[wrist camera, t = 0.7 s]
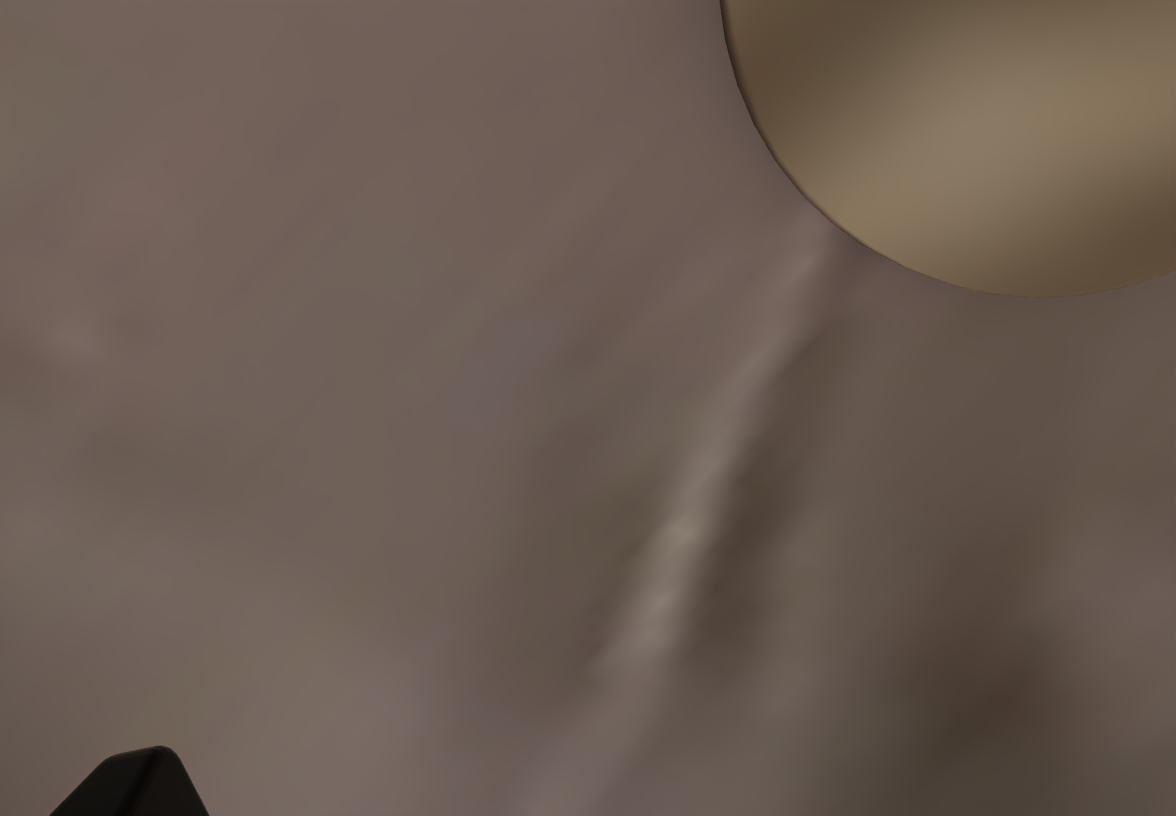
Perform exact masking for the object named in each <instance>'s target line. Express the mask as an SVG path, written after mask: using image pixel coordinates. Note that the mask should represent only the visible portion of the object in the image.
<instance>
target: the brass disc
mask: <svg viewBox="0 0 1176 816" xmlns="http://www.w3.org/2000/svg"><path fill="white" fill-rule="evenodd" d="M720 7H721V14H722V21H723V28H724V35H725V42H726V45H727V49H728V53H729V56H730V60H731V63H732V67H733V71H734V74H735V78H736V82H737V85H738V87H739V90H740V92H741V95H742V97H743V99H744V102H745V104H746V106H747V109H748V111H749V114H750V116H751V118H752V121H753V123H754V125H755V127H756V129H757V130H758V132H759V134H760V135H761V137H762V139H763V140H764V142H765V144H766V146H767V147H768V149H769V151H770V152H771V154H772V156H773V158H774V159H775V161H776V162H777V163H778V165H779V166H780V167H781V169H782V170H783V171H784V172H785V174H786V175H787V176H788V177H789V179H790V180H791V181H792V183H793V184H794V185H795V186H796V188H797V189H798V190H799V191H800V193H801V194H802V195H803V196H804V197H805V198H806V199H807V200H808V201H809V202H810V203H811V204H813V205H814V206H815V207H816V208H817V209H818V210H819V211H820V212H821V213H822V214H823V215H824V216H825V217H826V218H827V219H828V220H829V221H830V222H832V223H833V224H834V225H836V226H837V227H838V228H840V229H841V230H843V231H844V232H845V233H847V234H848V235H849V236H851V237H852V238H854V239H855V240H856V241H858V242H859V243H860V244H862V245H864V246H865V247H867V248H869V249H871V250H873V251H875V252H877V253H879V254H880V255H882V256H884V257H886V258H888V259H890V260H892V261H894V262H895V263H897V264H900V265H902V266H905V267H907V268H910V269H912V270H914V271H917V272H920V273H922V274H925V275H928V276H931V277H933V278H936V279H939V280H942V281H944V282H947V283H950V284H953V285H955V286H959V287H964V288H969V289H973V290H978V291H983V292H987V293H992V294H996V295H1009V296H1022V297H1035V298H1044V297H1062V296H1079V295H1086V294H1091V293H1097V292H1102V291H1107V290H1113V289H1118V288H1123V287H1126V286H1130V285H1133V284H1136V283H1139V282H1142V281H1145V280H1148V279H1152V278H1155V277H1158V276H1161V275H1164V274H1167V273H1169V272H1171V271H1173V270H1175V269H1176V0H720Z"/></svg>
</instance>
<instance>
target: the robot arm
mask: <svg viewBox="0 0 1176 816" xmlns="http://www.w3.org/2000/svg"><path fill="white" fill-rule="evenodd" d="M49 816H209V814H208V812H207V810H206V808H205V806H204V804H203V802H202V800H201V798H200V796H199V795H198V793H197V791H196V789H195V787H194V785H193V783H192V781H191V779H190V777H189V775H188V773H187V771H186V769H185V768H184V766H183V764H182V762H181V760H180V758H179V757H178V756H177V754H176V753H175V752H174V751H173V750H172V749H170V748H168V747H165V746H154V747H149V748H144V749H139V750H134V751H129V752H125V753H120V754H116V755H114V756H111V757H109V758H107V759H105V760H104V761H103V762H102V763H101V764H100V765H98V766H97V767H96V768H95V769H94V770H93V771H92V772H91V773H90V774H89V776H88V777H87V778H86V779H85V780H84V781H83V782H82V783H81V784H80V785H79V786H78V787H77V788H76V789H75V790H74V791H73V792H72V793H71V794H70V795H69V796H68V797H67V798H66V799H65V800H64V801H63V802H62V803H61V804H60V805H59V806H58V807H57V808H56V809H55V810H54V811H53V812H52V813H51V814H50V815H49Z"/></svg>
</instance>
